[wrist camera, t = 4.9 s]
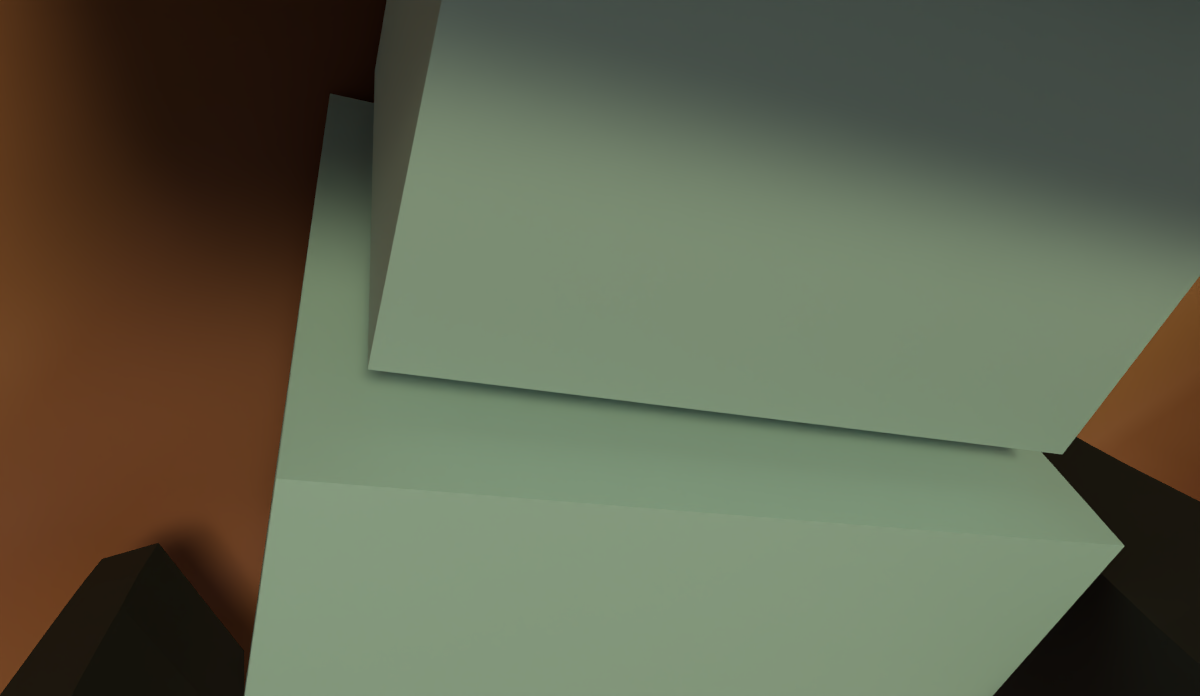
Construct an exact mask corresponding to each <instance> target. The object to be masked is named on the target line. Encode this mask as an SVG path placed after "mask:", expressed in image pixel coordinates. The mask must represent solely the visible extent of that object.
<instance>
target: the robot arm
mask: <svg viewBox="0 0 1200 696" xmlns="http://www.w3.org/2000/svg"><path fill="white" fill-rule="evenodd" d="M1042 453H1043V455H1044V456H1045V457H1046V458H1047V459H1048V460H1049V461H1050V462H1051V464H1052V465H1053V466H1054V467H1055V468H1056V469H1057V470H1058V471H1059V473H1060V474H1061V475H1062V476H1063V477H1064V478H1065V479H1066V480H1067V482H1068V483H1069V484H1070V485H1071V486H1072V487H1073V488H1074V489H1075V491H1076V492H1077V493H1078V494H1079V495H1080V496H1081V497H1082V498H1083V500H1084V501H1085V502H1086V503H1087V504H1088V505H1089V506H1090V507H1091V509H1092V510H1093V511H1094V512H1095V513H1096V514H1097V515H1098V516H1099V518H1100V519H1101V520H1102V521H1103V522H1104V523H1105V524H1106V526H1107V527H1108V528H1109V529H1110V530H1111V531H1112V532H1113V533H1114V535H1115V536H1116V537H1117V538H1118V539H1119V540H1120V541H1121V542H1122V544H1123V545H1124V547H1123V548H1122V550H1121V551H1120V552H1119V553H1118V554H1117V555H1116V556H1115V558H1114V559H1113V560H1112V561H1111V562H1110V563H1109V564H1108V565H1107V567H1106V568H1105V569H1104V570H1103V571H1102V572H1101V573H1100V575H1099V576H1098V577H1097V578H1096V579H1095V580H1094V581H1093V582H1092V584H1091V585H1090V586H1089V587H1088V588H1087V589H1086V590H1085V592H1084V593H1083V594H1082V595H1081V596H1080V597H1079V598H1078V599H1077V601H1076V602H1075V603H1074V604H1073V605H1072V606H1071V607H1070V609H1069V610H1068V611H1067V612H1066V613H1065V614H1064V615H1063V616H1062V618H1061V619H1060V620H1059V621H1058V622H1057V623H1056V624H1055V626H1054V627H1053V628H1052V629H1051V630H1050V631H1049V632H1048V633H1047V635H1046V636H1045V637H1044V638H1043V639H1042V640H1041V641H1040V643H1039V644H1038V645H1037V646H1036V647H1035V648H1034V649H1033V650H1032V652H1031V653H1030V654H1029V655H1028V656H1027V657H1026V658H1025V660H1024V661H1023V662H1022V663H1021V664H1020V665H1019V666H1018V667H1017V669H1016V670H1015V671H1014V672H1013V673H1012V674H1011V675H1010V677H1009V678H1008V679H1007V680H1006V681H1005V682H1004V683H1003V684H1002V686H1001V687H1000V688H999V689H998V690H997V691H996V692H995V694H994V695H993V696H1200V502H1199V501H1197V500H1195V499H1193V498H1191V497H1189V496H1188V495H1186V494H1184V493H1182V492H1180V491H1178V490H1176V489H1174V488H1172V487H1170V486H1168V485H1166V484H1164V483H1162V482H1160V481H1158V480H1156V479H1154V478H1152V477H1150V476H1148V475H1146V474H1144V473H1142V472H1140V471H1138V470H1136V469H1134V468H1132V467H1130V466H1128V465H1127V464H1125V463H1123V462H1121V461H1119V460H1117V459H1115V458H1114V457H1112V456H1110V455H1108V454H1106V453H1104V452H1102V451H1101V450H1099V449H1097V448H1095V447H1093V446H1091V445H1090V444H1088V443H1086V442H1084V441H1082V440H1081V439H1079V438H1077V437H1075V439H1074V440H1073V441H1072V443H1071V444H1070V445H1069V447H1068V448H1067V449H1066V450H1065V452H1064V453H1063V454H1054V453H1046V452H1042ZM0 696H244V651H243V649H242V648H241V647H240V645H239V644H238V643H237V642H236V640H235V639H234V638H233V637H232V635H231V634H230V633H229V632H228V630H227V629H226V628H225V627H224V625H223V624H222V623H221V622H220V620H219V619H218V618H217V616H216V615H215V614H214V613H213V611H212V610H211V609H210V608H209V606H208V605H207V604H206V603H205V601H204V600H203V599H202V598H201V596H200V595H199V594H198V592H197V591H196V590H195V589H194V587H193V586H192V585H191V584H190V582H189V581H188V580H187V579H186V577H185V576H184V575H183V574H182V572H181V571H180V570H179V569H178V567H177V566H176V565H175V563H174V562H173V561H172V560H171V558H170V557H169V556H168V555H167V553H166V552H165V551H164V550H163V548H162V547H161V546H160V545H159V543H157V544H153V545H150V546H146V547H143V548H139V549H136V550H132V551H129V552H125V553H122V554H118V555H115V556H111V557H107V558H104V559H102V560H101V561H100V562H99V564H98V565H97V566H96V567H95V568H94V570H93V571H92V572H91V573H90V575H89V576H88V577H87V578H86V580H85V581H84V582H83V584H82V585H81V586H80V587H79V589H78V590H77V591H76V593H75V594H74V595H73V597H72V598H71V599H70V601H69V602H68V603H67V605H66V606H65V607H64V609H63V610H62V611H61V613H60V614H59V616H58V617H57V618H56V620H55V621H54V622H53V624H52V625H51V626H50V628H49V629H48V630H47V632H46V633H45V635H44V636H43V637H42V639H41V640H40V641H39V643H38V644H37V645H36V647H35V648H34V650H33V651H32V652H31V654H30V655H29V656H28V658H27V659H26V661H25V662H24V663H23V665H22V666H21V667H20V669H19V670H18V671H17V673H16V674H15V676H14V677H13V678H12V680H11V681H10V682H9V684H8V685H7V686H6V688H5V689H4V690H3V692H2V693H1V694H0Z"/></svg>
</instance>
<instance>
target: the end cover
mask: <svg viewBox="0 0 1200 696" xmlns="http://www.w3.org/2000/svg"><path fill="white" fill-rule="evenodd" d="M1199 276H1200V0H387V1H386V7H385V13H384V19H383V25H382V31H381V37H380V43H379V48H378V54H377V60H376V66H375V83H374V103H371V102H367V101H362V100H358V99H353V98H349V97H344V96H340V95H335V94H331V93H330V96H329V103H328V110H327V117H326V124H325V131H324V138H323V145H322V152H321V159H320V166H319V173H318V180H317V187H316V194H315V201H314V208H313V215H312V222H311V229H310V236H309V243H308V250H307V257H306V264H305V271H304V278H303V285H302V292H301V299H300V306H299V313H298V320H297V327H296V334H295V341H294V348H293V355H292V362H291V369H290V376H289V383H288V390H287V396H286V403H285V410H284V417H283V424H282V431H281V438H280V445H279V452H278V459H277V466H276V473H275V480H274V487H273V494H272V501H271V508H270V515H269V522H268V529H267V536H266V543H265V550H264V557H263V564H262V571H261V578H260V585H259V593H258V600H257V607H256V614H255V621H254V628H253V635H252V642H251V649H250V656H249V663H248V670H247V677H246V684H245V691H244V696H993V695H994V694H995V692H996V691H997V690H998V689H999V688H1000V687H1001V686H1002V684H1003V683H1004V682H1005V681H1006V680H1007V679H1008V678H1009V677H1010V675H1011V674H1012V673H1013V672H1014V671H1015V670H1016V669H1017V667H1018V666H1019V665H1020V664H1021V663H1022V662H1023V661H1024V660H1025V658H1026V657H1027V656H1028V655H1029V654H1030V653H1031V652H1032V650H1033V649H1034V648H1035V647H1036V646H1037V645H1038V644H1039V643H1040V641H1041V640H1042V639H1043V638H1044V637H1045V636H1046V635H1047V633H1048V632H1049V631H1050V630H1051V629H1052V628H1053V627H1054V626H1055V624H1056V623H1057V622H1058V621H1059V620H1060V619H1061V618H1062V616H1063V615H1064V614H1065V613H1066V612H1067V611H1068V610H1069V609H1070V607H1071V606H1072V605H1073V604H1074V603H1075V602H1076V601H1077V599H1078V598H1079V597H1080V596H1081V595H1082V594H1083V593H1084V592H1085V590H1086V589H1087V588H1088V587H1089V586H1090V585H1091V584H1092V582H1093V581H1094V580H1095V579H1096V578H1097V577H1098V576H1099V575H1100V573H1101V572H1102V571H1103V570H1104V569H1105V568H1106V567H1107V565H1108V564H1109V563H1110V562H1111V561H1112V560H1113V559H1114V558H1115V556H1116V555H1117V554H1118V553H1119V552H1120V551H1121V550H1122V548H1123V547H1124V545H1123V544H1122V542H1121V541H1120V540H1119V539H1118V538H1117V537H1116V536H1115V535H1114V533H1113V532H1112V531H1111V530H1110V529H1109V528H1108V527H1107V526H1106V524H1105V523H1104V522H1103V521H1102V520H1101V519H1100V518H1099V516H1098V515H1097V514H1096V513H1095V512H1094V511H1093V510H1092V509H1091V507H1090V506H1089V505H1088V504H1087V503H1086V502H1085V501H1084V500H1083V498H1082V497H1081V496H1080V495H1079V494H1078V493H1077V492H1076V491H1075V489H1074V488H1073V487H1072V486H1071V485H1070V484H1069V483H1068V482H1067V480H1066V479H1065V478H1064V477H1063V476H1062V475H1061V474H1060V473H1059V471H1058V470H1057V469H1056V468H1055V467H1054V466H1053V465H1052V464H1051V462H1050V461H1049V460H1048V459H1047V458H1046V457H1045V456H1044V455H1043V453H1042V452H1046V453H1054V454H1063V453H1064V452H1065V450H1066V449H1067V448H1068V447H1069V445H1070V444H1071V443H1072V441H1073V440H1074V439H1075V437H1076V436H1077V435H1078V434H1079V432H1080V431H1081V430H1082V428H1083V427H1084V426H1085V424H1086V423H1087V422H1088V421H1089V419H1090V418H1091V417H1092V415H1093V414H1094V413H1095V411H1096V410H1097V409H1098V407H1099V406H1100V405H1101V404H1102V402H1103V401H1104V400H1105V398H1106V397H1107V396H1108V394H1109V393H1110V392H1111V391H1112V389H1113V388H1114V387H1115V385H1116V384H1117V383H1118V381H1119V380H1120V379H1121V378H1122V376H1123V375H1124V374H1125V372H1126V371H1127V370H1128V368H1129V367H1130V366H1131V365H1132V363H1133V362H1134V361H1135V359H1136V358H1137V357H1138V355H1139V354H1140V353H1141V352H1142V350H1143V349H1144V348H1145V346H1146V345H1147V344H1148V342H1149V341H1150V340H1151V338H1152V337H1153V336H1154V335H1155V333H1156V332H1157V331H1158V329H1159V328H1160V327H1161V325H1162V324H1163V323H1164V322H1165V320H1166V319H1167V318H1168V316H1169V315H1170V314H1171V312H1172V311H1173V310H1174V309H1175V307H1176V306H1177V305H1178V303H1179V302H1180V301H1181V299H1182V298H1183V297H1184V296H1185V294H1186V293H1187V292H1188V290H1189V289H1190V288H1191V286H1192V285H1193V284H1194V283H1195V281H1196V280H1197V279H1198V277H1199Z"/></svg>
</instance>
